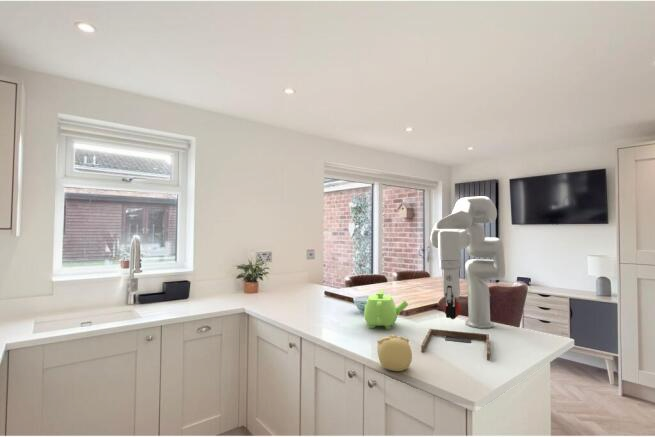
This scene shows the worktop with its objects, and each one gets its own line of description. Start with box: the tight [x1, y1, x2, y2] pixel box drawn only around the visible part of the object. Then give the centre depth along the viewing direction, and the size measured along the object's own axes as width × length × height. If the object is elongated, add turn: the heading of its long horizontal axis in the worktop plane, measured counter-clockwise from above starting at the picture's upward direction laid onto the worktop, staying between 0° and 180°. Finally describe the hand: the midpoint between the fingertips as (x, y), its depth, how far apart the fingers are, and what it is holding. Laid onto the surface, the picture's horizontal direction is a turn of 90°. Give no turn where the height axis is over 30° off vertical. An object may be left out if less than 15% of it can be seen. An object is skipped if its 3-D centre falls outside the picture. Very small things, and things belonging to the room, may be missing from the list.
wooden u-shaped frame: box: [420, 328, 491, 361], centre depth 139 cm, size 23×24×2 cm
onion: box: [443, 299, 462, 320], centre depth 124 cm, size 6×6×8 cm
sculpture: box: [377, 334, 413, 372], centre depth 120 cm, size 12×12×11 cm
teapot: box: [363, 289, 409, 330], centre depth 172 cm, size 25×22×16 cm
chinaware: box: [353, 295, 371, 314], centre depth 198 cm, size 15×15×8 cm
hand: (451, 314), depth 124 cm, fingers closed on onion, 5 cm apart
